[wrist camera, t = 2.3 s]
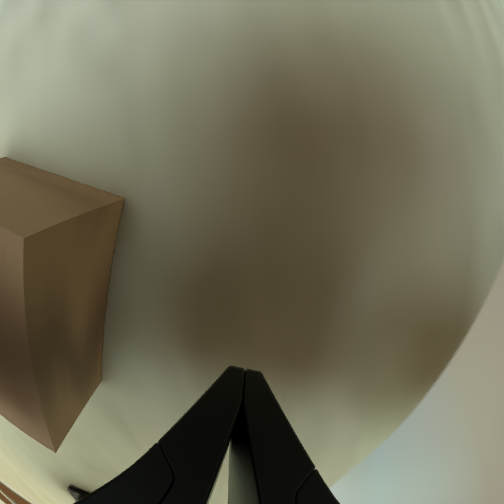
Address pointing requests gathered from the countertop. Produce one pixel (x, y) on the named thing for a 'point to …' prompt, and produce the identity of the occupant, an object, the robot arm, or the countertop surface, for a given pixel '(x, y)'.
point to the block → (52, 296)
